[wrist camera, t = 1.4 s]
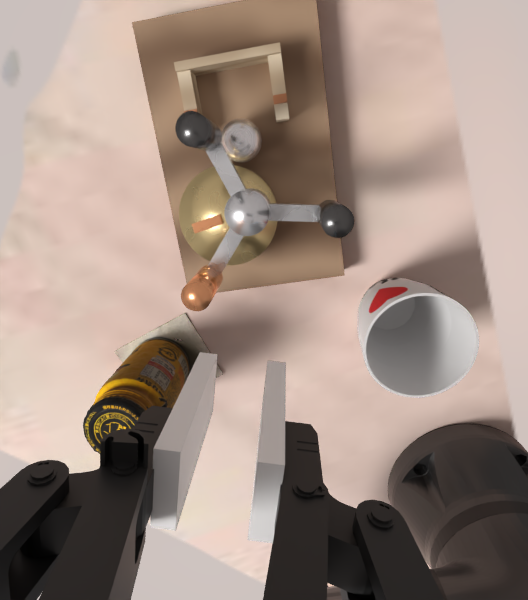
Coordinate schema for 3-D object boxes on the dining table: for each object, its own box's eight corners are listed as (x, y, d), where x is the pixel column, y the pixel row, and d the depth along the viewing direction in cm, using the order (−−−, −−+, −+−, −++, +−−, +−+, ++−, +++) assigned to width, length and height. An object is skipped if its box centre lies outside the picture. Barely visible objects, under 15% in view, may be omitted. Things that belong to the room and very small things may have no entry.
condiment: (114, 350, 43) (52, 415, 31) (185, 312, 41) (146, 366, 30) (154, 407, 45) (109, 488, 33) (223, 372, 43) (200, 445, 32)
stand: (341, 270, 39) (348, 282, 35) (194, 290, 41) (183, 304, 36) (313, -4, 33) (317, -29, 29) (140, 30, 34) (120, 11, 30)
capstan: (304, 93, 33) (311, 63, 24) (345, 237, 36) (365, 259, 27) (156, 149, 35) (110, 140, 26) (207, 281, 38) (182, 316, 29)
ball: (265, 159, 35) (263, 158, 32) (227, 165, 35) (221, 165, 32) (259, 117, 34) (256, 112, 31) (220, 124, 34) (213, 119, 31)
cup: (433, 259, 39) (481, 288, 29) (432, 342, 41) (476, 394, 31) (343, 266, 39) (361, 297, 30) (346, 348, 42) (364, 401, 32)
